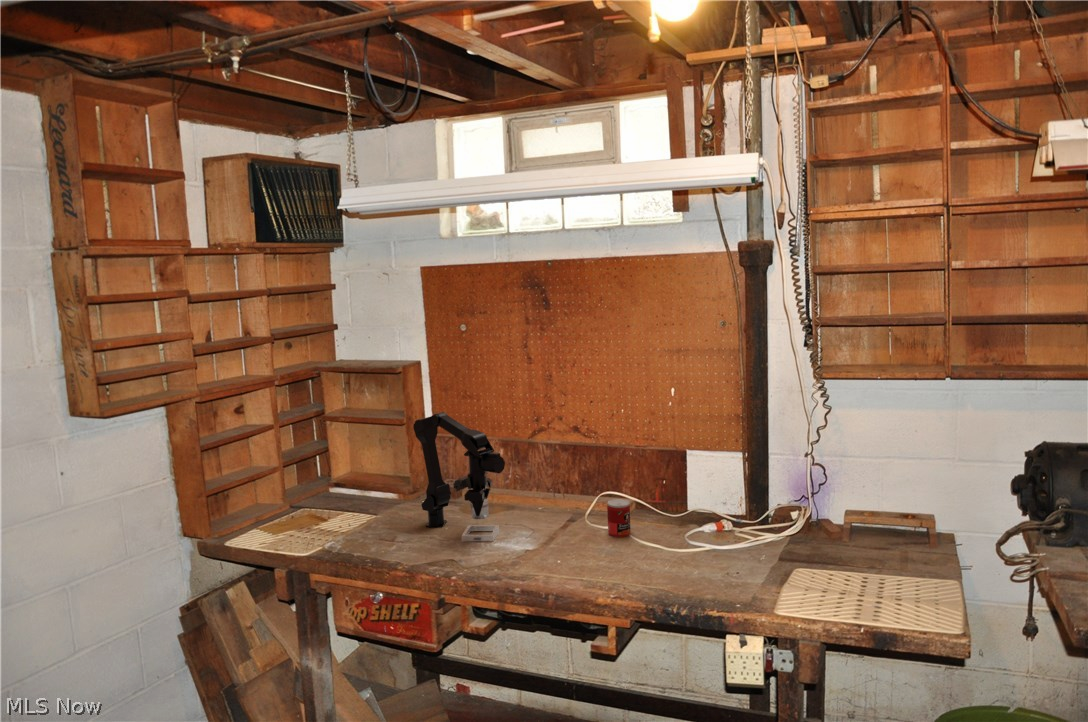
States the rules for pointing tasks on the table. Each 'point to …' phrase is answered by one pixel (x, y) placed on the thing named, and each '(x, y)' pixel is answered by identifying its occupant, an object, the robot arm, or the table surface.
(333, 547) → the table surface
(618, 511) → the canned food
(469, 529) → the grey square frame
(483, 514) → the piston
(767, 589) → the table surface
